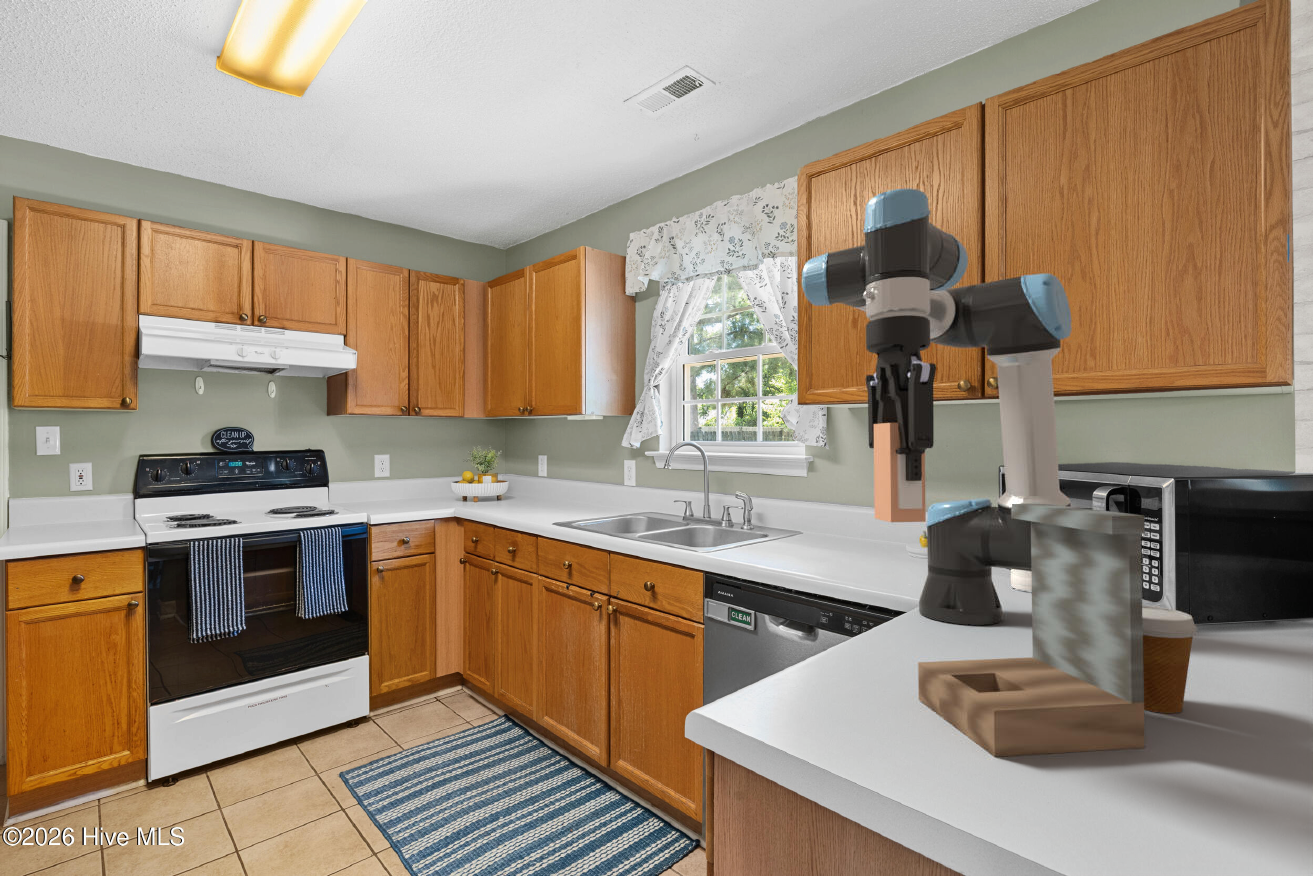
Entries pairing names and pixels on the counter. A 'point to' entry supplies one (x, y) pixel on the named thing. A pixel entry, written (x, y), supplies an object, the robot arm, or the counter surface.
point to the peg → (891, 477)
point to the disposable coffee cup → (1165, 657)
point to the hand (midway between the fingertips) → (899, 506)
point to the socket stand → (1060, 646)
